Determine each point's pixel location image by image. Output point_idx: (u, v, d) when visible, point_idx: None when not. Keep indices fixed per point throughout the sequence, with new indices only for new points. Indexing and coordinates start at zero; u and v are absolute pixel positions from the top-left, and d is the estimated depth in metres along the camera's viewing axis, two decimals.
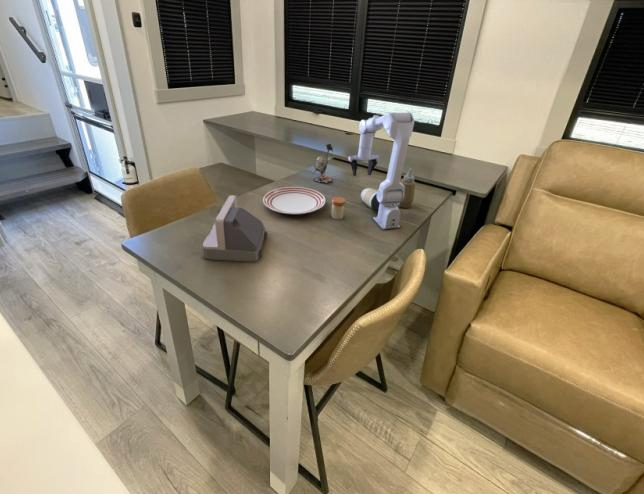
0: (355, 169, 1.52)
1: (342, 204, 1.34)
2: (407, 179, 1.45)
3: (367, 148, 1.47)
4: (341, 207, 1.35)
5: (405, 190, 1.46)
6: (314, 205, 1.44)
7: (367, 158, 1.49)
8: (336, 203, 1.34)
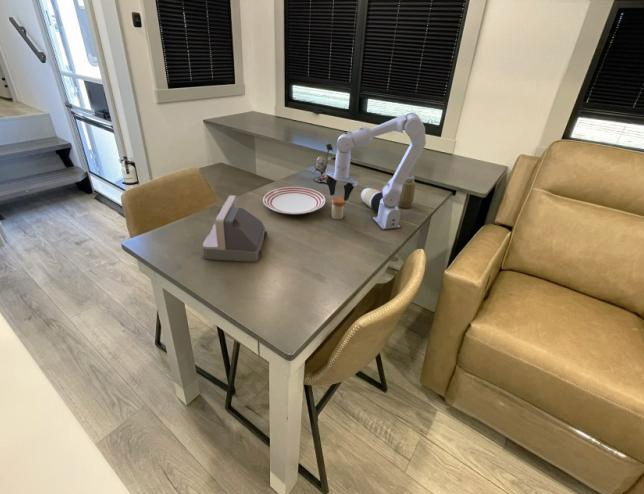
0: (329, 187, 1.34)
1: (342, 204, 1.34)
2: (407, 179, 1.45)
3: (349, 166, 1.28)
4: (341, 207, 1.35)
5: (405, 190, 1.46)
6: (314, 205, 1.44)
7: (338, 178, 1.29)
8: (336, 203, 1.34)
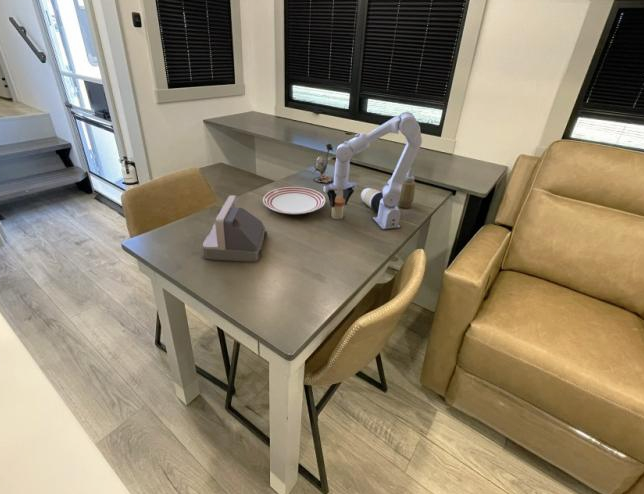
0: (333, 200, 1.33)
1: (342, 204, 1.34)
2: (407, 179, 1.45)
3: (348, 175, 1.30)
4: (341, 207, 1.35)
5: (405, 190, 1.46)
6: (314, 205, 1.44)
7: (345, 187, 1.31)
8: (336, 203, 1.34)
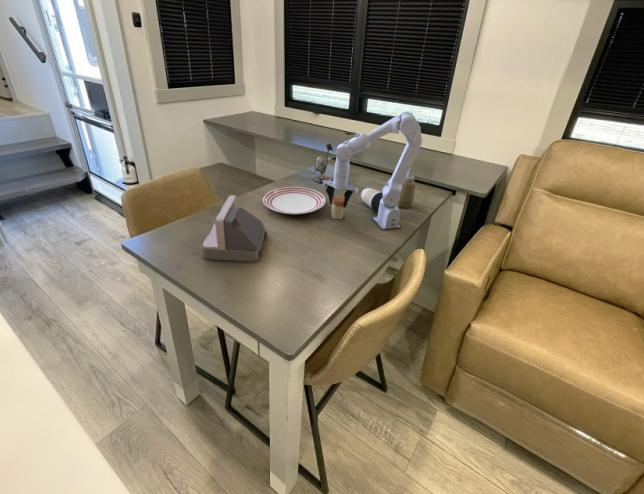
0: None
1: None
2: (407, 179, 1.45)
3: (348, 174, 1.30)
4: (341, 207, 1.35)
5: (405, 190, 1.46)
6: (314, 205, 1.44)
7: None
8: None
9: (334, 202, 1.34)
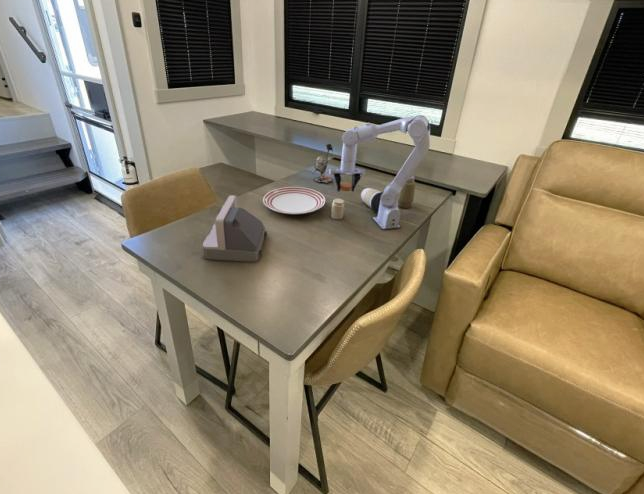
0: None
1: None
2: None
3: (355, 160, 1.31)
4: (341, 207, 1.35)
5: (405, 190, 1.46)
6: (314, 205, 1.44)
7: None
8: None
9: (345, 188, 1.35)
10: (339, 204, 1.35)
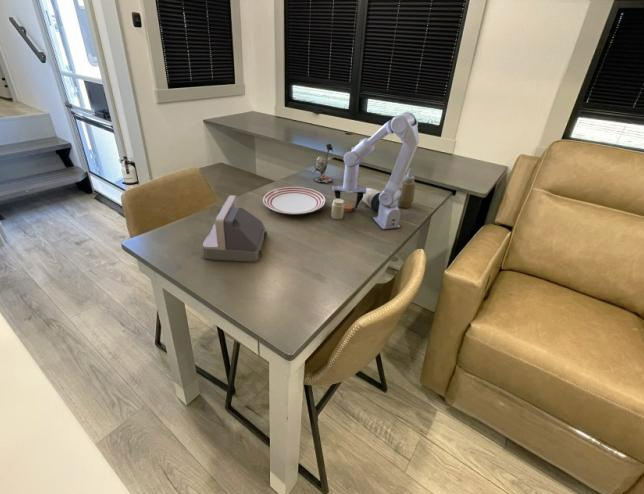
0: None
1: None
2: (407, 179, 1.45)
3: (356, 179, 1.38)
4: (341, 207, 1.35)
5: (405, 190, 1.46)
6: (314, 205, 1.44)
7: None
8: None
9: (345, 209, 1.43)
10: (339, 204, 1.35)
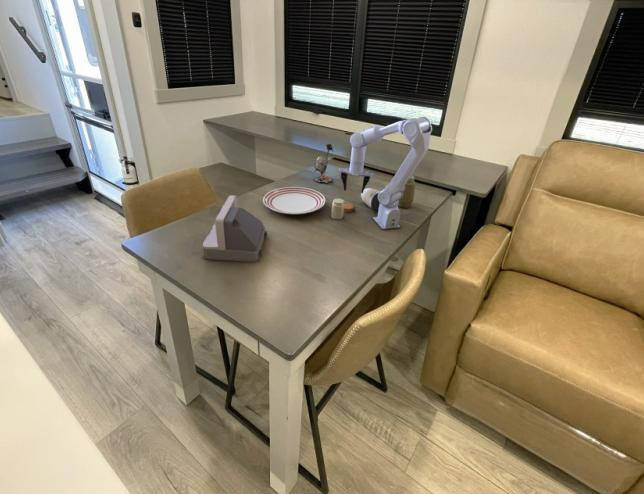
0: None
1: None
2: None
3: (362, 162, 1.36)
4: (341, 207, 1.35)
5: (405, 190, 1.46)
6: (314, 205, 1.44)
7: None
8: None
9: (345, 209, 1.43)
10: (339, 204, 1.35)
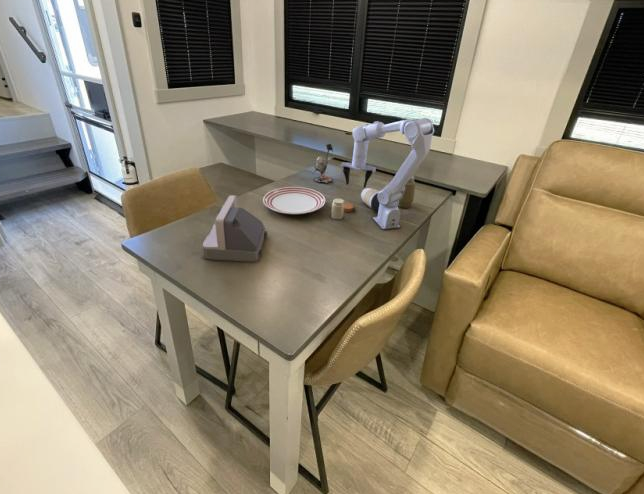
0: None
1: None
2: None
3: (364, 156, 1.35)
4: (341, 207, 1.35)
5: (405, 190, 1.46)
6: (314, 205, 1.44)
7: None
8: None
9: (345, 209, 1.43)
10: (339, 204, 1.35)
